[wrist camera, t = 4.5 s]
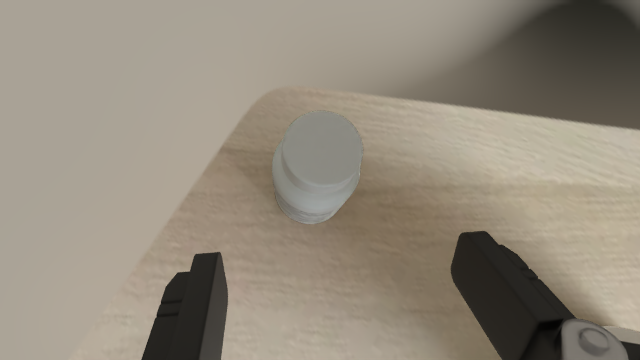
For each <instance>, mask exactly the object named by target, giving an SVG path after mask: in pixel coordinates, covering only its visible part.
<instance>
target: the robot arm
mask: <svg viewBox="0 0 640 360" xmlns="http://www.w3.org/2000/svg"><path fill="white" fill-rule="evenodd" d="M451 275H452V279H453V282H454V284H455V285H456V287H457V289H458V290H459V292H460V293H461V295H462V297H463V298H464V300H465V301H466V303H467V305H468V306H469V308H470V309H471V311H472V313H473V314H474V316H475V317H476V319H477V321H478V322H479V324H480V325H481V327H482V329H483V330H484V332H485V333H486V335H487V337H488V338H489V340H490V341H491V343H492V345H493V346H494V348H495V349H496V351H497V353H498V354H499V356H500V357H501V359H502V360H640V344H635V343H630V342H624V341H619V340H618V339H617V338H616V337H615V336H614V335H613V334H612V333H610V332H609V331H608V330H606V329H605V328H603V327H601V326H599V325H597V324H595V323H593V322H590V321H587V320H583V319H577V318H576V317H575V316H574V315H573V314H572V313H571V312H570V311H569V310H568V309H567V308H566V307H565V305H564V304H563V303H562V302H561V301H560V300H559V299H558V298H557V297H556V296H555V295H554V294H553V293H552V291H551V290H550V289H549V288H548V287H547V286H546V285H545V284H544V283H543V282H542V281H541V280H540V279H538V276H537V275H536V274H535V273H534V272H533V271H532V270H531V269H529V268H528V266H527V264H526V263H525V262H524V261H523V260H522V259H521V258H520V257H519V256H518V255H517V254H516V253H514V252H513V251H511V250H510V249H508V248H506V247H505V246H503V245H498V244H497V242H496V241H495V240H494V239H493V238H492V237H491V236H490V235H489V234H488V233H487V232H485V231H476V232H464V233H461V234H460V236H459V238H458V242H457V246H456V249H455V253H454V257H453V260H452V264H451ZM227 305H228V290H227V283H226V277H225V272H224V266H223V261H222V256H221V253H220V252H215V253H202V254H195V256H194V259H193V262H192V266H191V270H190V272H180V273H177V274H176V275H175V276H174V278H173V279H172V280H171V281H170V282H169V284H168V285H167V286H166V288H165V291H164V294H163V297H162V300H161V305H160V306H159V309H158V312H157V318H155V321H154V324H153V327H152V330H151V333H150V336H149V339H148V342H147V345H146V348H145V351H144V354H143V357H142V359H141V360H221V354H222V346H223V338H224V330H225V322H226V314H227Z"/></svg>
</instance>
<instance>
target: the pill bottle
mask: <svg viewBox="0 0 640 360" xmlns="http://www.w3.org/2000/svg"><path fill="white" fill-rule="evenodd" d="M362 157H363V144H362V140H361V137H360V135H359V133H358V131H357V129H356V128H355V127H354V125H353V124H352V123H351V122H350V121H348V120H347V119H346V118H344V117H343V116H341V115H339V114H337V113H334V112H330V111H312V112H309V113H306V114H304V115H302V116H300V117H298V118H297V119H296V120H295V121H294V122H292V123H291V124H290V126H289V127H288V129H287V130H286V133H285V135H284V138H283V140H282V141H281V142H280V143H279V145H278V146H277V148H276V150H275V153H274V156H273V160H272V176H273V185H274V191H275V196H276V200H277V203H278V205H279V207H280V208H281V210H282V211H283V212H284V213H285V214H286V215H287V216H288V217H290V218H291V219H293V220H295V221H297V222H300V223H304V224H317V223H321V222H324V221H326V220H328V219H329V218H331V217H332V216H333V215H334V214H335V213H336V212H337V211H338V210H339V209H340V208H341V206H342V205H343V204H344V203H345V202H346V200H347V199H348V198H349V197H350V196H351V195H352V193H353V192H354V190H355V189H356V186H357V184H358V181H359V178H360V164H361V161H362Z"/></svg>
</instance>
